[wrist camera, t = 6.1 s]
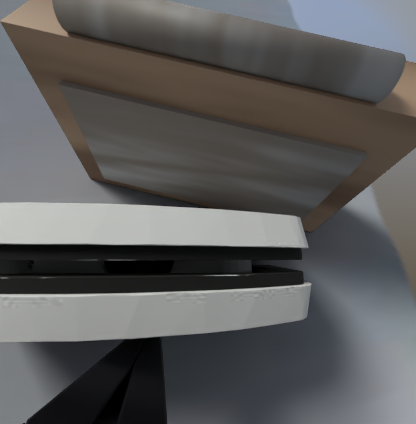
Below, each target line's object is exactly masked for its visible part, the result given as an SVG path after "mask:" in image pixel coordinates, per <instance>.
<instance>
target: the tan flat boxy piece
mask: <svg viewBox="0 0 416 424" xmlns="http://www.w3.org/2000/svg"><path fill="white" fill-rule="evenodd" d="M0 22H1V24H2V25H3V27H4V29H5V31H6V32H7V34H8V36H9V37H10V39H11V41H12V43H13V44H14V46H15V48H16V50H17V51H18V53H19V55H20V57H21V58H22V60H23V62H24V64H25V65H26V67H27V69H28V71H29V72H30V74H31V76H32V78H33V79H34V81H35V83H36V85H37V86H38V88H39V90H40V92H41V93H42V95H43V97H44V98H45V100H46V102H47V104H48V105H49V107H50V109H51V111H52V112H53V114H54V116H55V118H56V119H57V121H58V123H59V125H60V126H61V128H62V130H63V132H64V133H65V135H66V137H67V139H68V140H69V142H70V144H71V146H72V147H73V149H74V151H75V153H76V154H77V156H78V158H79V159H80V161H81V163H82V165H83V166H84V168H85V170H86V172H87V173H88V175H89V177H90V179H94V180H98V181H102V182H106V183H110V184H114V185H118V186H123V187H127V188H131V189H135V190H139V191H143V192H147V193H151V194H156V195H160V196H164V197H168V198H172V199H176V200H180V201H184V202H189V203H193V204H197V205H201V206H205V207H209V208H213V209H223V210H235V211H248V212H260V213H270V214H280V215H290V216H296V217H300V219H301V222H302V226H303V229H304V231H308V232H313V231H314V230H315V229H316V228H317V227H319V226H320V225H321V224H322V223H324V222H325V221H326V220H327V219H328V218H330V217H331V216H332V215H333V214H335V213H336V212H337V211H338V210H340V209H341V208H342V207H343V206H344V205H346V204H347V203H348V202H349V201H351V200H352V199H353V198H354V197H355V196H357V195H358V194H359V193H360V192H362V191H363V190H364V189H365V188H367V187H368V186H369V185H370V184H371V183H373V182H374V181H375V180H376V179H378V178H379V177H380V176H381V175H382V174H383V173H385V172H386V171H387V170H389V169H390V168H391V167H392V166H394V165H395V164H396V163H397V162H398V161H400V160H401V159H402V158H403V157H405V156H406V155H407V154H408V153H410V152H411V151H412V150H413V149H414V148H415V147H416V63H413V62H409V61H406V59H405V56H404V54H401V53H397V52H393V51H388V50H384V49H379V48H375V47H370V46H366V45H362V44H357V43H353V42H348V41H344V40H339V39H335V38H331V37H326V36H322V35H317V34H313V33H308V32H304V31H300V30H295V29H291V28H286V27H282V26H278V25H273V24H269V23H264V22H260V21H256V20H251V19H247V18H242V17H238V16H233V15H229V14H225V13H220V12H216V11H211V10H207V9H202V8H198V7H194V6H189V5H185V4H180V3H176V2H172V1H167V0H29V1H28V2H26V3H25V4H24V5H22V6H21V7H19V8H18V9H16V10H15V11H14V12H12V13H11V14H9V15H8V16H7V17H5V18H4V19H2V20H1V21H0Z"/></svg>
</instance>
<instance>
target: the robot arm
mask: <svg viewBox="0 0 416 424" xmlns="http://www.w3.org/2000/svg"><path fill="white" fill-rule="evenodd" d="M23 424H25V423H23ZM26 424H167V412H166V397H165V383H164V368H163V354H162V339H161V337H150V338H137V339H125V340H124V341H123V342H122V343H120V344H119V345H118V346H117V347H116V348H114V349H113V350H112V351H111V352H109V353H108V354H107V355H106V356H105V357H103V358H102V359H101V360H100V361H99V362H97V363H96V364H95V365H94V366H92V367H91V368H90V369H89V370H88V371H86V372H85V373H84V374H83V375H81V376H80V377H79V378H78V379H77V380H75V381H74V382H73V383H72V384H71V385H69V386H68V387H67V388H66V389H64V390H63V391H62V392H61V393H60V394H58V395H57V396H56V397H55V398H53V399H52V400H51V401H50V402H49V403H47V404H46V405H45V406H44V407H43V408H41V409H40V410H39V411H38V412H36V413H35V414H34V415H33V416H32V417H30V418H29V419H28V420H27V422H26Z"/></svg>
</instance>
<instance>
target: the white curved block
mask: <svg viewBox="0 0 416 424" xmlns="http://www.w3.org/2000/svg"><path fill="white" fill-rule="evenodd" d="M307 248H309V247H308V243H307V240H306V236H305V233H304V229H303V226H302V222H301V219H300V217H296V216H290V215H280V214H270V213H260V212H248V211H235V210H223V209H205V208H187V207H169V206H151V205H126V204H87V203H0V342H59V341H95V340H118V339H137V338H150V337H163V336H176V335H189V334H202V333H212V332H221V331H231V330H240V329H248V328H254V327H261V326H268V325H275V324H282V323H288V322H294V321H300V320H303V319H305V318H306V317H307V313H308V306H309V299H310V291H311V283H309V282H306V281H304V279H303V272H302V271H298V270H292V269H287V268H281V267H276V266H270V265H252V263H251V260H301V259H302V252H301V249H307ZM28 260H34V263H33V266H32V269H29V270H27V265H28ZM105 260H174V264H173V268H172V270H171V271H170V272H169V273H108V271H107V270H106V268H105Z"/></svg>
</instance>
